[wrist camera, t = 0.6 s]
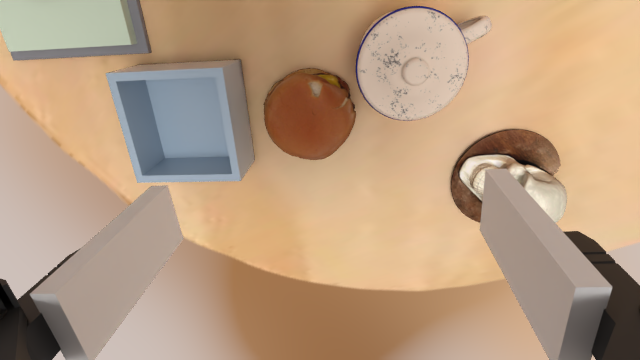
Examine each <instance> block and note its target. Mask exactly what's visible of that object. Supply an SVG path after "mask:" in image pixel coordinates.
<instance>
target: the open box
mask: <svg viewBox="0 0 640 360" xmlns="http://www.w3.org/2000/svg"><path fill="white" fill-rule="evenodd" d="M106 76H107V80H108V83H109V87H110V90H111V93H112V97H113V100H114V104H115V107H116V111H117V114H118V118H119V121H120V124H121V128H122V131H123V135H124V138H125V142H126V145H127V148H128V152H129V155H130V159H131V162H132V166H133V169H134V173H135V176H136V179H137V183H140V182H204V181H241V180H242V178H243V177H244V175H245V174H246V172H247V171H248V169H249V168H250V166H251V165H252V163H253V162H254V160H255V158H254V151H253V143H252V136H251V129H250V122H249V115H248V108H247V101H246V94H245V87H244V80H243V73H242V66H241V59H239V60H219V61H200V62H180V63H161V64H142V65H136V66H132V67H128V68H124V69H120V70H116V71H113V72H109V73H106Z"/></svg>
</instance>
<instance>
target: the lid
mask: <svg viewBox="0 0 640 360" xmlns="http://www.w3.org/2000/svg"><path fill="white" fill-rule="evenodd" d="M0 30H1V32H2V35H3V38H4V40H5V43H6V45H7V48H8V50H9V52H13V51H30V50H48V49H65V48H82V47H100V46H117V45H132V44H137V40H136V36H135V32H134V28H133V24H132V20H131V15H130V11H129V7H128V3H127V0H0Z"/></svg>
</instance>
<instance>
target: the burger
mask: <svg viewBox="0 0 640 360" xmlns="http://www.w3.org/2000/svg"><path fill="white" fill-rule="evenodd" d="M264 105H265V106H264V115H265V119H264V120H265V126H266V129H267V131H268V134H269V136H270V137H271V139H272V141H273V142H274V143H275V144H276V145H277V146H278V147H279V148H280V149H281V150H283V151H284V152H286V153H288V154H290V155H292V156H296V157H299V158H303V159H310V160H318V159H324V158H326V157H328V156H330V155H331V154H333V153H334V152H335V151H336V150H337V149H338V148H339V147H340V146H341V145H342V144H343V143H344V142H345V140H346V139H347V137H348V136H349V134H350V132H351V130H352V128H353V125H354V122H355V117H356V111H354V108H355V105H354V104H353V103H352V102H351V99H350V93H349V87H348V85H347V83H346V82H344V81H342V80H341V79H340V78H339V77H337V76H334V75H331V74H330V73H326V72H324V71H322V70H319V69H314V68H312V69H311V68H308V69H301V70H298V71H297V72H293V73H291V74H289V75H288V76H286V77H285V78H284V79H283V80H281V81H279V82H277V83H275V84H274V85H273V86H272V89H271V90H270V92H269V93H268V96H267V99H266V100H265V103H264Z"/></svg>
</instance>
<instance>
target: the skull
mask: <svg viewBox="0 0 640 360" xmlns="http://www.w3.org/2000/svg"><path fill="white" fill-rule="evenodd" d="M559 166H560V159H559V155H558V153H557V151H556V149H555V148H554V146H553V145H552V144H551V143H550V142H549V141H548V140H547V139H546V138H544V137H543V136H541V135H539V134H537V133H534V132H530V131H526V130H507V131H502V132H499V133H496V134H493V135H491V136H490V135H489V136H488V137H486V138H484V139H482V140H480V141H479V142H478V143H476V144H475V145H474V146H472V147H471V148H470V149H469V150H468V151H467V152H466V153H465V154H464V155H463V157H462V158H461V159H460V161H459V162H458V164H457V166H456V167H455V170H454V173H453V177H452V184H451V185H452V195H453V199H454V201H455V203H456V205H457V207H458V208H459V209H460V210H461V212H462V213H463V214H465V215H466V216H467V217H469V218H471V219H472V220H475V221H478V222H480V221H481V211H482V201H483V191H484V181H485V170H488V169H507V170H508V171H509V172H510V173H511V174H512V175H513V177H514V178H515V179H516V180H517V181H518V182H519V183H520V184H521V185H522V187H523V188H524V189H525V190H526V191H527V192H528V193H529V194H530V195H531V197H532V198H533V199H534V200H535V201H536V202H537V203H538V204H539V206H540V207H541V208H542V209H543V210H544V211H545V212H546V213H547V214H548V216H549V217H550V218H551V219H552V220H553V221H554V222H555V223H556V222H557V221H559V220H560V219H561V218H562V216H563V214H564V212H565V209H566V203H567V193H566V189H565V187H564V185H563V184H562V183H561V182H560V181H559V180H557V179H556V178H554V177H553V176H554V172H555V173H557V172H558V170H557V168H559ZM546 172H547V173H546Z"/></svg>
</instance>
